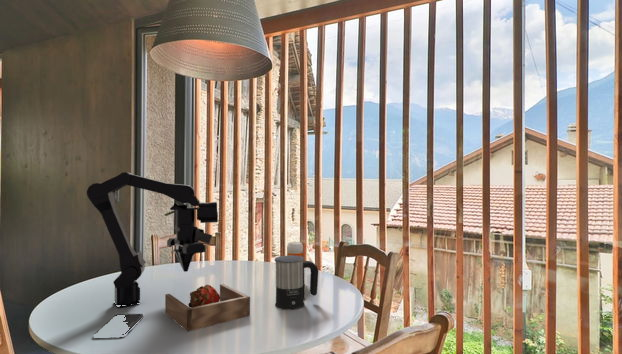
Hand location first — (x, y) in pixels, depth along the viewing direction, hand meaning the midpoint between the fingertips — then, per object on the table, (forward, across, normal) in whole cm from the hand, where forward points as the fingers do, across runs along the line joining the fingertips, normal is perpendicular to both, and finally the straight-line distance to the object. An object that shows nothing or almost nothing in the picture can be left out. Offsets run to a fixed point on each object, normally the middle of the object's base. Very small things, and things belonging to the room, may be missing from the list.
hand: (185, 271), depth 126 cm
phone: (+10, -12, +22) cm, 27 cm away
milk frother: (+10, -22, -26) cm, 35 cm away
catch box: (+9, -17, 0) cm, 19 cm away
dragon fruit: (+9, -14, 0) cm, 17 cm away
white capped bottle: (+10, -6, -40) cm, 41 cm away
